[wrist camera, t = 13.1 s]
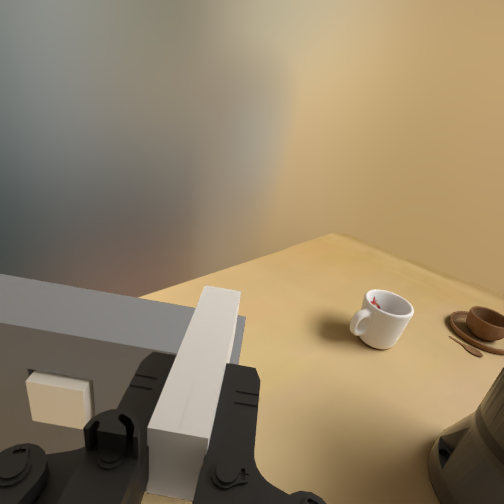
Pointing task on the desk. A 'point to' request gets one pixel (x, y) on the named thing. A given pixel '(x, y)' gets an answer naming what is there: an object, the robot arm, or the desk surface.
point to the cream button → (60, 399)
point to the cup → (381, 318)
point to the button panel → (78, 349)
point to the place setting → (480, 328)
